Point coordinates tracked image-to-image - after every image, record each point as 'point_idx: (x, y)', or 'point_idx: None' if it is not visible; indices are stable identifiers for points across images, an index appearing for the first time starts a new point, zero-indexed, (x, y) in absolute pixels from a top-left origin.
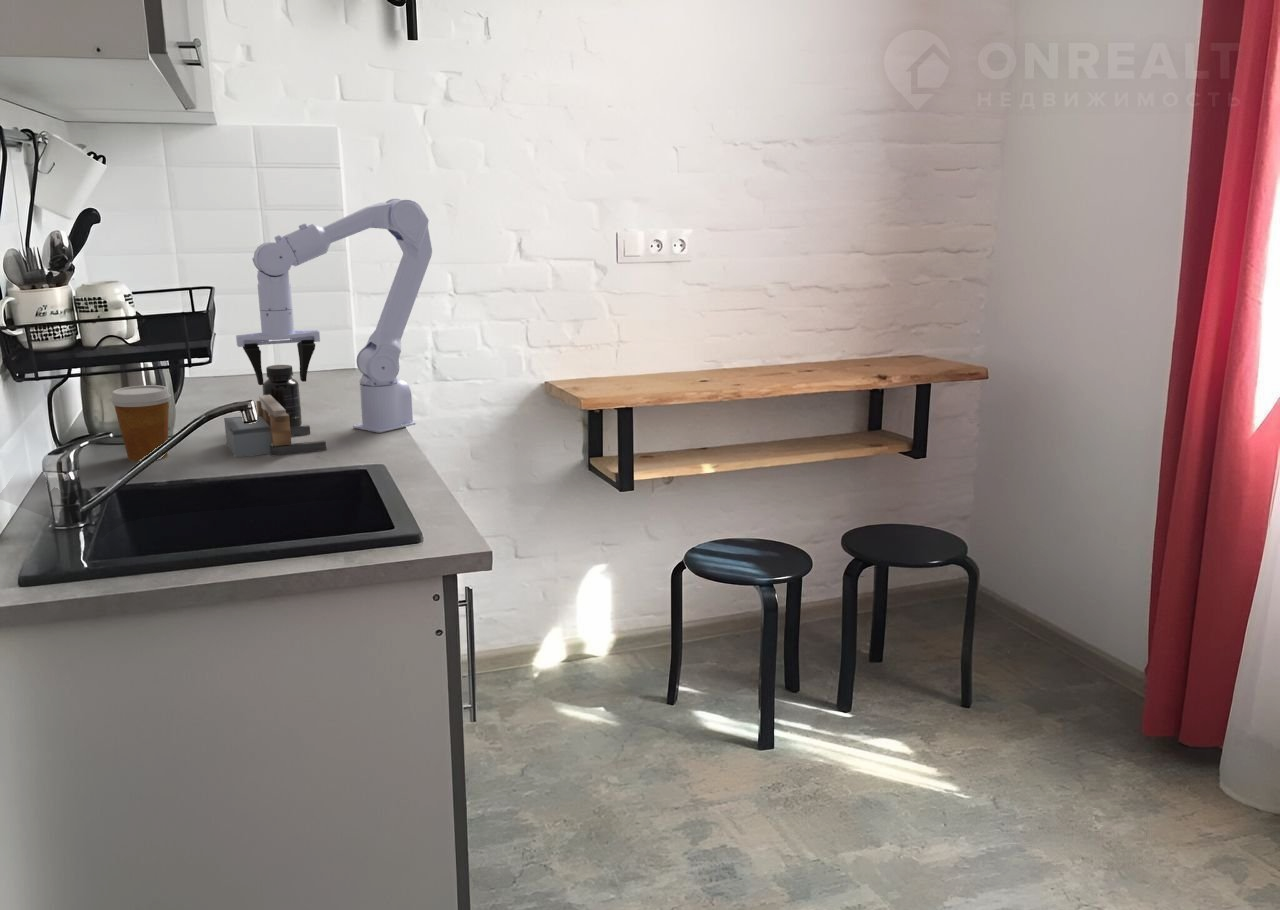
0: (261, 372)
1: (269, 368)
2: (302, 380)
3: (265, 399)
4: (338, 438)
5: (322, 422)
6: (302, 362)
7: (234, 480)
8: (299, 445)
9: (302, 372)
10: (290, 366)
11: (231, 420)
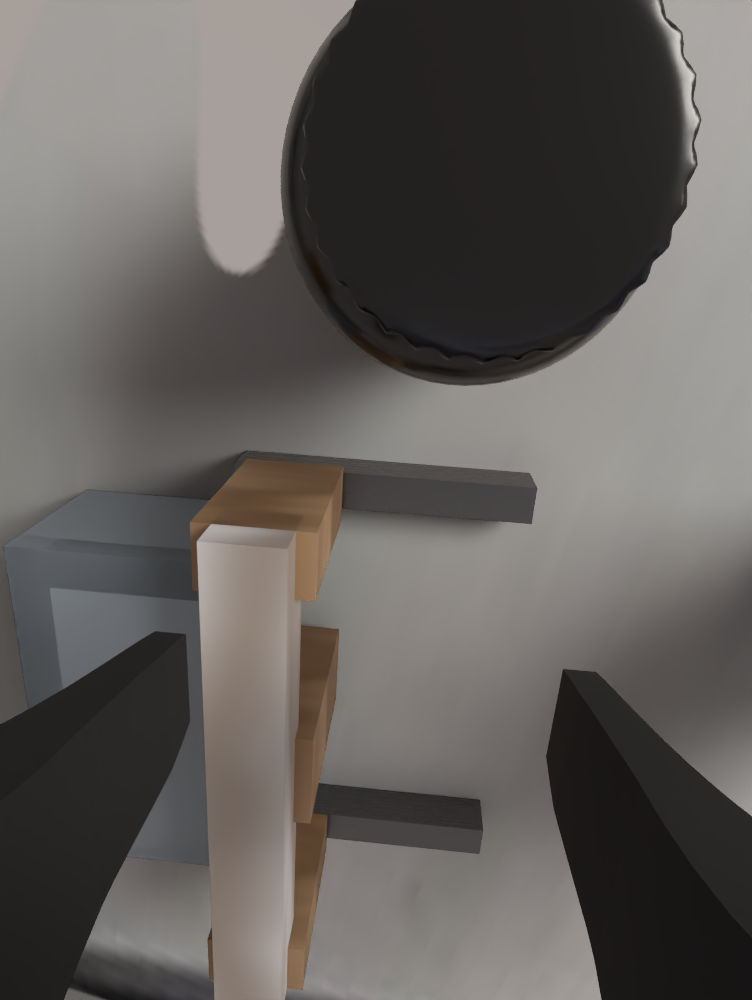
0: (127, 842)
1: (328, 246)
2: (548, 763)
3: (221, 712)
4: (609, 666)
5: (721, 210)
6: (603, 956)
7: (93, 991)
8: (362, 838)
9: (566, 844)
10: (656, 227)
11: (45, 633)
